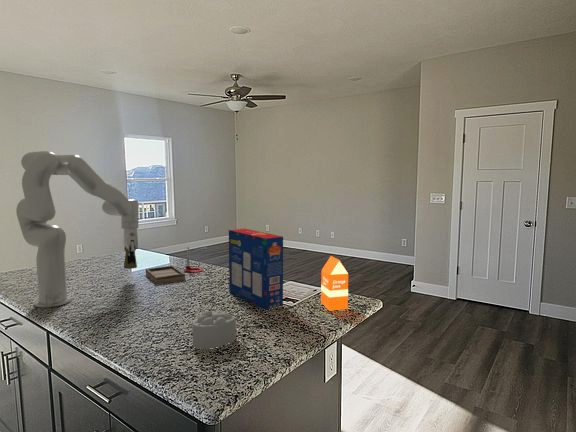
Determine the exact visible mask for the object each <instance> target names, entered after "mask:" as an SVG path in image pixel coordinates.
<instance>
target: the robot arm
mask: <svg viewBox="0 0 576 432" xmlns="http://www.w3.org/2000/svg"><path fill="white" fill-rule="evenodd" d="M20 161H21V162H20V163H21V164H20V165H21V166H22V168H23V169H24V172H23V175H22V178H21V187H22V191H23V192H22V193H23V196H24V198H22V199H21V200H19V202H18V203H17V205H16V209H15V210H16V211H15V212H16V216H17V220H18V224H19V228H20V231H21V234H22V236H23V239H24V241H25V242H26V243H27V244H28V245H30V246H33V247H35V248H36V247H37V252H36V256H35V257H36V261H35V262H36V263H35V264H36V275H37V276H36V277H37V288H38V289H37V291H38V292H37V293H38V299H36V300H35V301H34V307H36V308H43V309H45V308H46V309H47V308H54V307H60V306H64V305H67V304H68V303H70V302H71V301H72V298H73V297H72V296H71V295H68V292H67V291H68V290H67V271H66V257H65V256H66V255H65V253H66V250H65V249H66V243H67V233H66V232H65V231H64V229H63V228H61V227H60V226H58V225H56V224H50V223H47V222H50V221H51V220H54V218H55V216H56V206H55V204H54V200H53V197H52V193H51V189H50V179H51V177H52V176H69V177H70V178H71V179H72V180H73V181H74V182H75V183H76V184H77V185H78V186H79V187H80V188H81V189H82V190H83V191H84V192H86V193H87V194H89V195H91V196H93V197H97V198H99V199H102V200H103V201H104V202H103V203H102V206H101V208H102V211H103V212H104V213H105V214H106V215H109V216H114V217H115V216H116V217H117V216H118V217H121V219H120V220H121V229H122V230H123V247H124V248H125V246H126V248H127V249H128V264H130V262H131V263H132V262H133V264H135V256H136V251H135V248H136V250H138V249H139V240H138V239H139V238H138V229H139V201H138V200H137V199H133V198H132V199H130V198H129V199H128V197H127V196H125V194H124V193H122V191H120V190H119V189H118V188H117V187H115V186H114V185H112V184H110V183H109V182H107V181H106V180H104V179H103V178H101V176H100V175H99V174H97V172H96V171H95V170H94V169H93V168H92V167H91V166H90V164H88V163H87V162H86V160H85V159H83V158H82V157H81V156H79V155H77V154H56V153H54V152H52V151H48V150H43V151H42V150H41V151H31V152H26V153H25V154H24V155H23V156H22V157H21V160H20ZM134 245H135V247H134ZM129 248H131V249H129ZM130 250H131V251H130Z"/></svg>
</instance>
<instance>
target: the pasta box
mask: <svg viewBox="0 0 576 432" xmlns="http://www.w3.org/2000/svg"><path fill="white" fill-rule="evenodd" d="M228 268H229V269H228V279H229V280H228V282H229V283H228V284H229V287H228V288H229V289H228V290H229V291H228V292H229V294H230V295H233V296H236V298H237V297H238V298H239V299H241V300H243V301H246V302H248V303H249V304H251V303H252V304H251V305H253V304H254V306H255V305H256V307H257V306H258V308H259V307H260V308H259V309H261V308H263V309H265V310H264V311H266V310H268V311H270V310H269V309H272V308H275V309H277V308H276V307H279V306H284V236H282V235H277V234H272V233H267V232H264V231H263V232H262V231H257V230H253V229H249V228H237V229H229V230H228ZM279 308H280V307H279ZM263 309H262V310H263ZM272 310H273V309H272Z"/></svg>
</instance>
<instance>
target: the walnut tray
mask: <svg viewBox="0 0 576 432" xmlns="http://www.w3.org/2000/svg"><path fill="white" fill-rule="evenodd" d="M145 276H146V277H148V278H149V280H150V281H152V282H153V283H154V284H155V285H161V284H167V283H168V284H169V283H174V282H181V281H186V272H184V271H182V270H180V269H179V268H177V267H176V266H174V265H168V266H167V265H166V266H159V267H152V268H146V269H145Z"/></svg>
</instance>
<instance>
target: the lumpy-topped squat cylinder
mask: <svg viewBox="0 0 576 432" xmlns="http://www.w3.org/2000/svg"><path fill="white" fill-rule="evenodd" d="M236 321H237V320H236V316H234V315H232V314H231V313H229V312H226V311H223V310H220V309H219V310H217V311H210V310H205V311H204V312H202V313H201V315H199V316H198V317H196V318H195V319H194V320H193V321H192V329H191V330H192V347H193V346H194V347H196V348H201V349H210V348H216V347H220V346H223V345H226V344H228V343H230V342H233V341H234V340H235V339H236V340H237V334H236V333H237V331H236V330H237V327H236V326H237V324H236V323H237V322H236ZM236 340H235V341H236ZM235 341H234V342H235ZM234 342H233V343H234ZM226 346H227V345H226Z"/></svg>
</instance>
